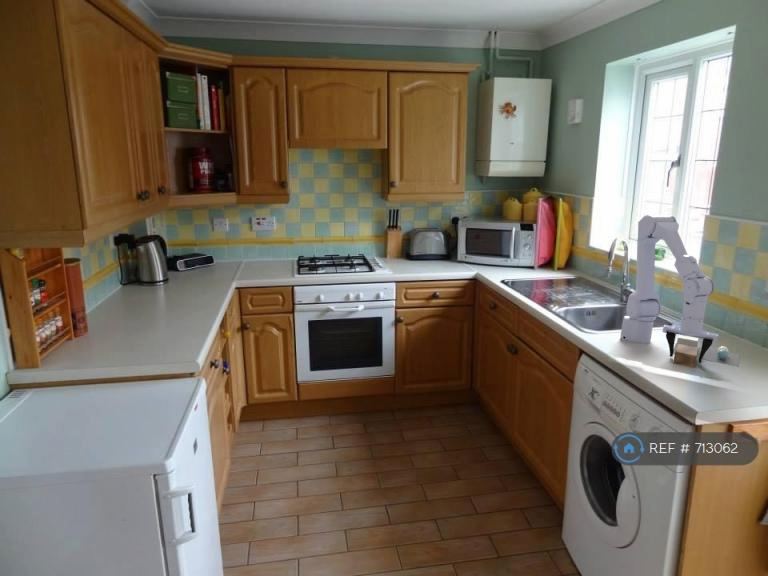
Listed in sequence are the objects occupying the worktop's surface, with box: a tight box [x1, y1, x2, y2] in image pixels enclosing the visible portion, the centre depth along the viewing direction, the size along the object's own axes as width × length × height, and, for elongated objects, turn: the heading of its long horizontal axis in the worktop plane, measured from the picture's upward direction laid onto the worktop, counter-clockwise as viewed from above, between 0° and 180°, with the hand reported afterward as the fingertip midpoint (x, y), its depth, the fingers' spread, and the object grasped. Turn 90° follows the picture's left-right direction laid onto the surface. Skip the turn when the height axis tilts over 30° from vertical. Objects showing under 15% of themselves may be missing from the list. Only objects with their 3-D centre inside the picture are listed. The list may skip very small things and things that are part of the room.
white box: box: [676, 335, 700, 348], centre depth 173 cm, size 6×9×5 cm, turn 147°
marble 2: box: [717, 349, 728, 359], centre depth 167 cm, size 3×3×3 cm
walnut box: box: [672, 344, 699, 368], centre depth 164 cm, size 6×9×5 cm, turn 147°
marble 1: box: [717, 345, 730, 353], centre depth 170 cm, size 3×3×3 cm
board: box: [673, 342, 740, 367], centre depth 171 cm, size 18×12×1 cm, turn 57°
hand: (685, 358), depth 164 cm, fingers open, 7 cm apart
